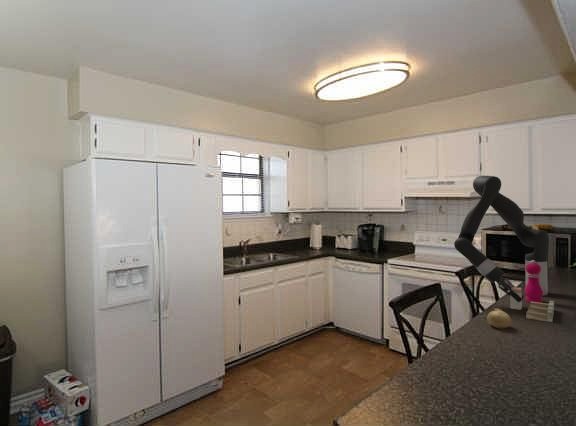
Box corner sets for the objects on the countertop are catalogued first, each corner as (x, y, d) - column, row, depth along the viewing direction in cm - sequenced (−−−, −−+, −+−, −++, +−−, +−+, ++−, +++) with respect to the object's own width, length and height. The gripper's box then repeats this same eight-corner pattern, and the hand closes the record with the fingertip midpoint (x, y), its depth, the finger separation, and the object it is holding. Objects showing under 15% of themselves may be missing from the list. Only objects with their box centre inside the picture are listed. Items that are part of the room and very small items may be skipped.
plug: (511, 306, 158) (511, 286, 158) (521, 307, 155) (521, 288, 155) (510, 308, 155) (509, 288, 155) (520, 309, 152) (520, 289, 152)
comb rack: (530, 306, 156) (530, 298, 156) (554, 310, 150) (553, 301, 150) (526, 318, 142) (526, 308, 141) (552, 322, 136) (552, 312, 136)
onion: (513, 326, 134) (512, 308, 134) (508, 332, 128) (508, 313, 128) (489, 321, 139) (489, 304, 139) (484, 327, 133) (484, 309, 133)
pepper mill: (537, 299, 167) (536, 258, 166) (546, 303, 160) (546, 261, 159) (521, 299, 168) (520, 259, 167) (530, 303, 161) (529, 261, 160)
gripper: (493, 268, 154) (526, 298, 147) (498, 263, 165) (529, 291, 157) (480, 278, 158) (512, 308, 150) (486, 272, 168) (516, 301, 161)
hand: (521, 299), depth 154 cm, fingers closed on plug, 4 cm apart
